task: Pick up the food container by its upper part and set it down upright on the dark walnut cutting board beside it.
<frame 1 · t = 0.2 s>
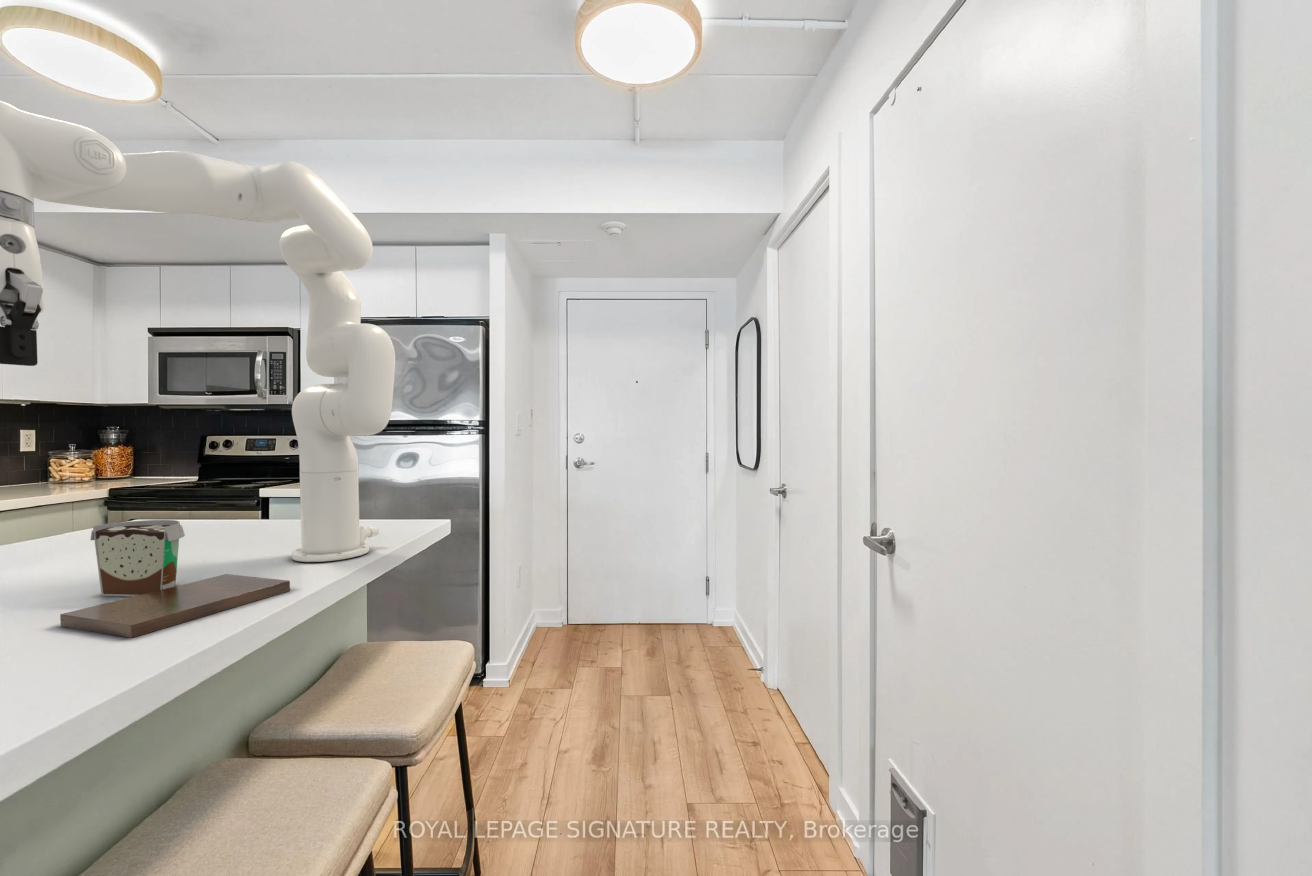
food container: (151, 591, 87), on the countertop
cutting board: (186, 606, 79), on the countertop
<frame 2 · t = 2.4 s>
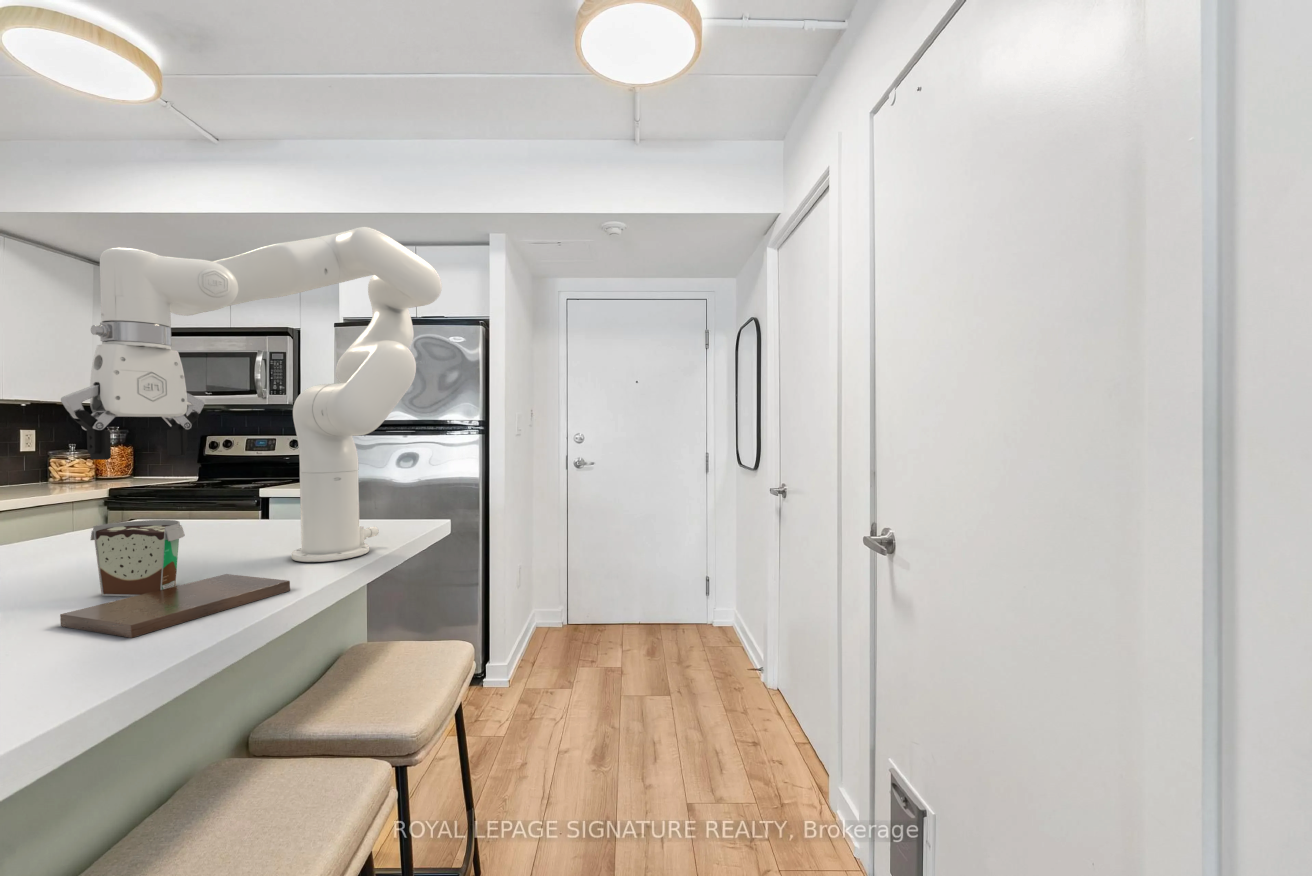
hand: (140, 457, 86), 20 cm above the countertop, tool pointing down, fingers open, 9 cm apart
nothing on the countertop moved.
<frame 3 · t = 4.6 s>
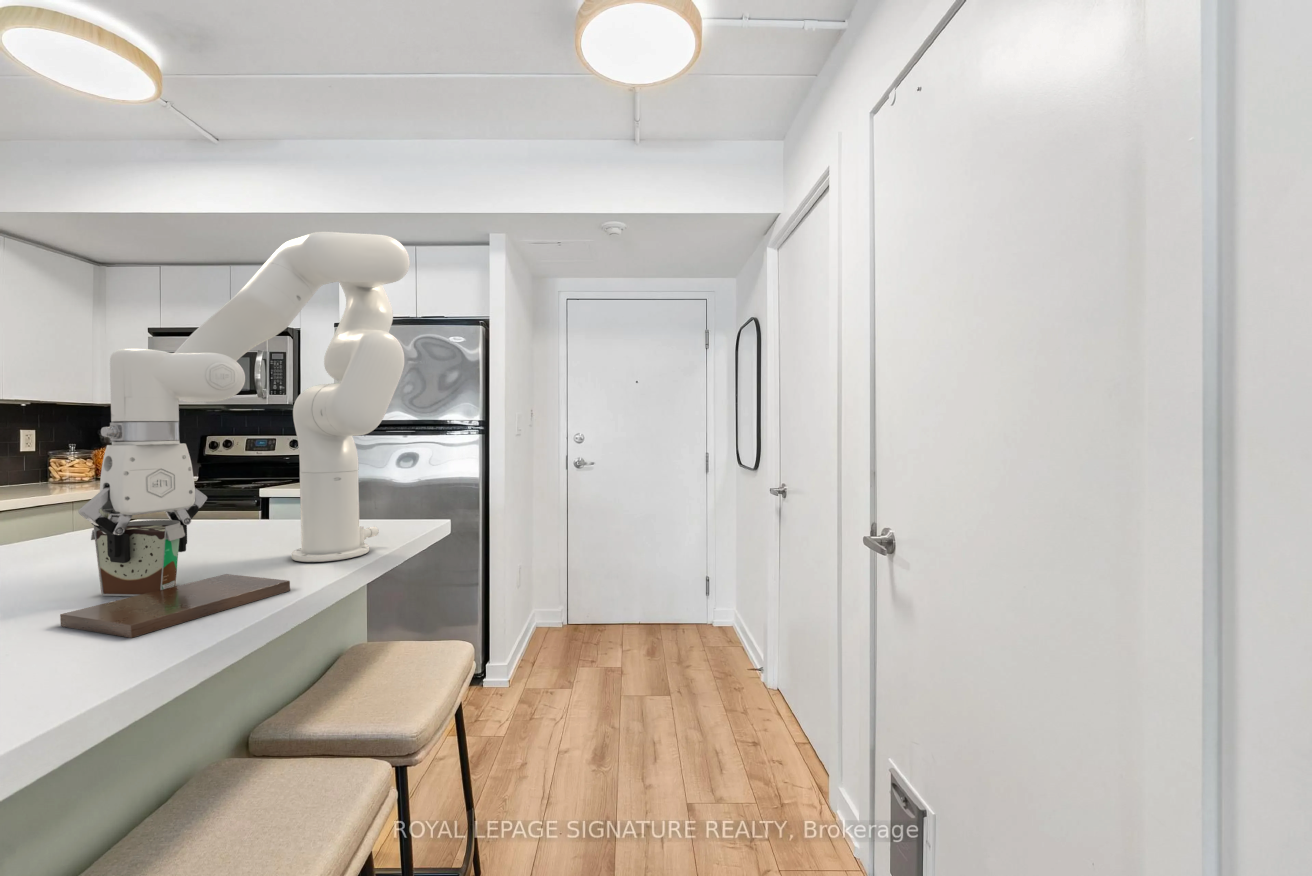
hand: (149, 555, 87), 5 cm above the countertop, tool pointing down, fingers closed on food container, 6 cm apart
food container: (151, 591, 87), on the countertop, touching gripper
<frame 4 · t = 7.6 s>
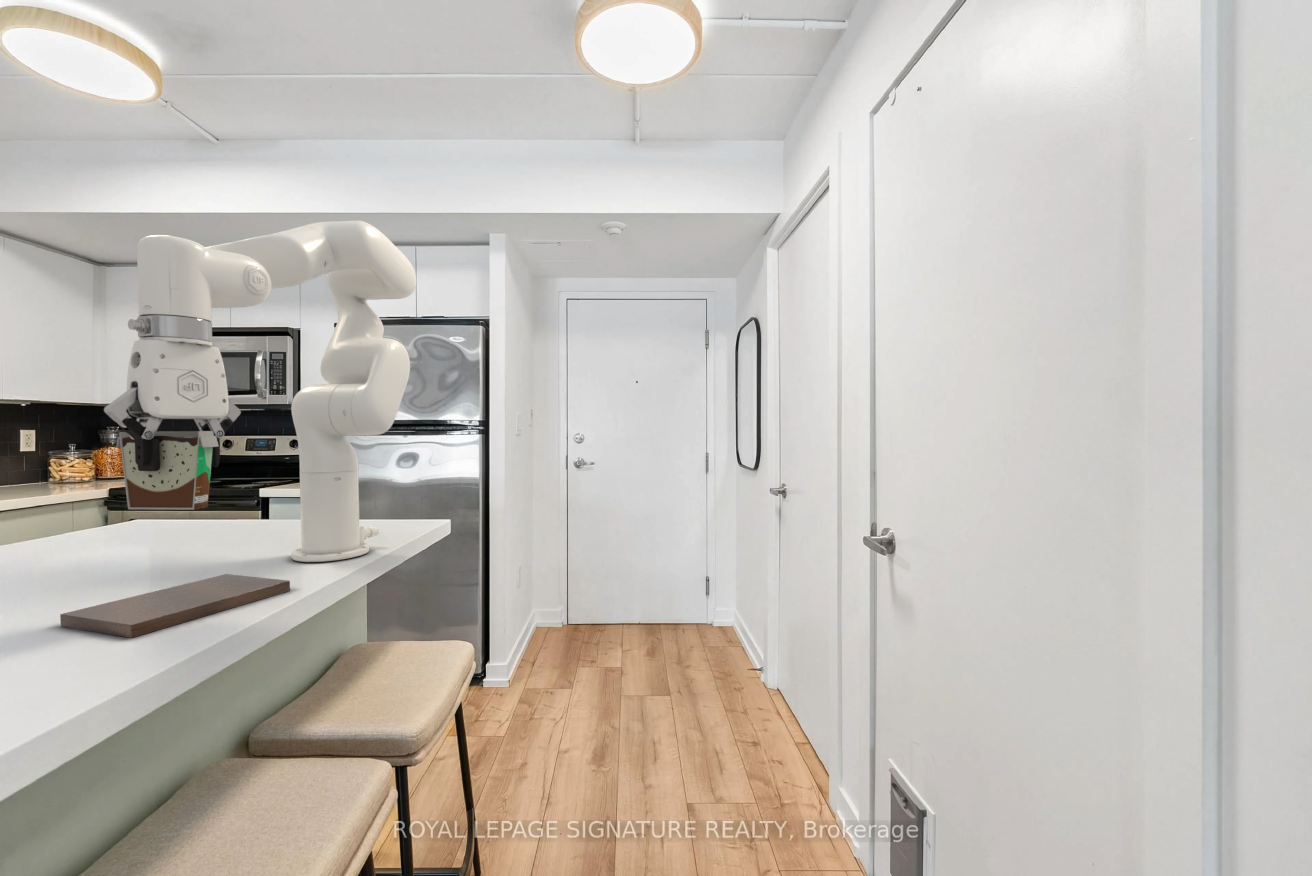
hand: (180, 467, 79), 19 cm above the countertop, tool pointing down, fingers closed on food container, 6 cm apart
food container: (182, 507, 79), point 13 cm above the countertop, touching gripper
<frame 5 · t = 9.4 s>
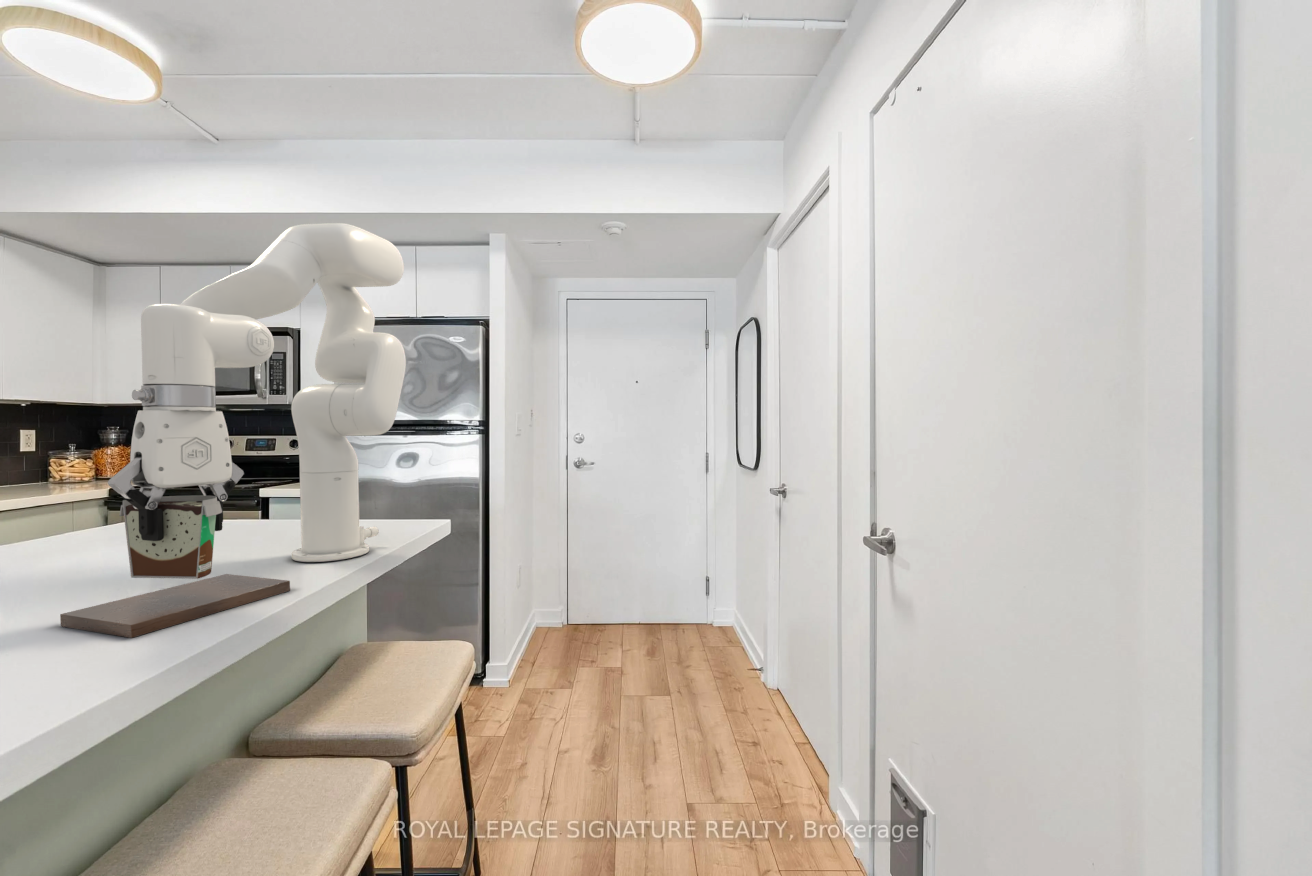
hand: (183, 533, 79), 10 cm above the countertop, tool pointing down, fingers closed on food container, 6 cm apart
food container: (185, 573, 79), point 4 cm above the countertop, touching gripper
when the fingers open (7 cm above the countertop, at t = 10.8 s): food container stays where it is, resting on cutting board.
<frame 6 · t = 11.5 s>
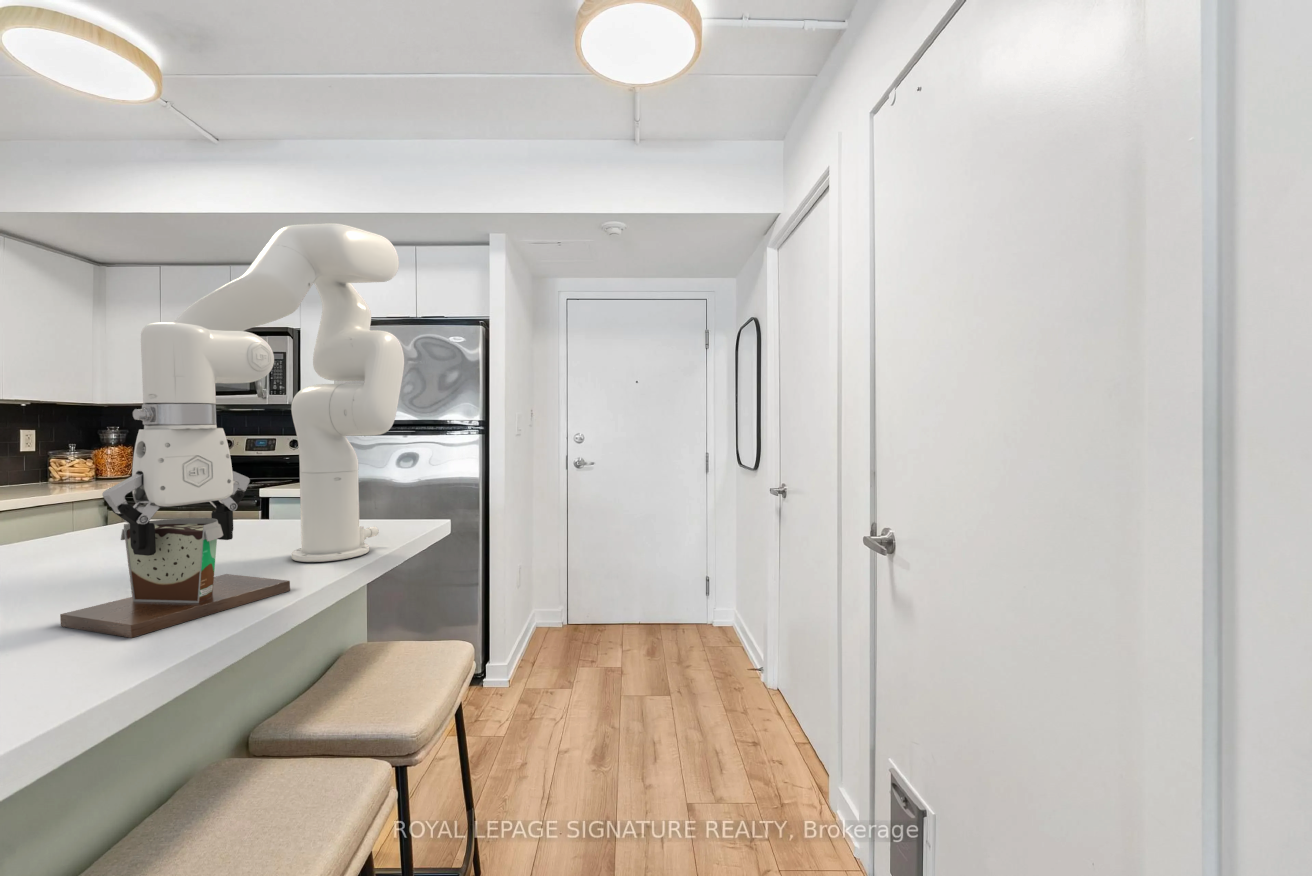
hand: (185, 546, 79), 8 cm above the countertop, tool pointing down, fingers open, 9 cm apart
food container: (186, 596, 79), point 1 cm above the countertop, touching cutting board
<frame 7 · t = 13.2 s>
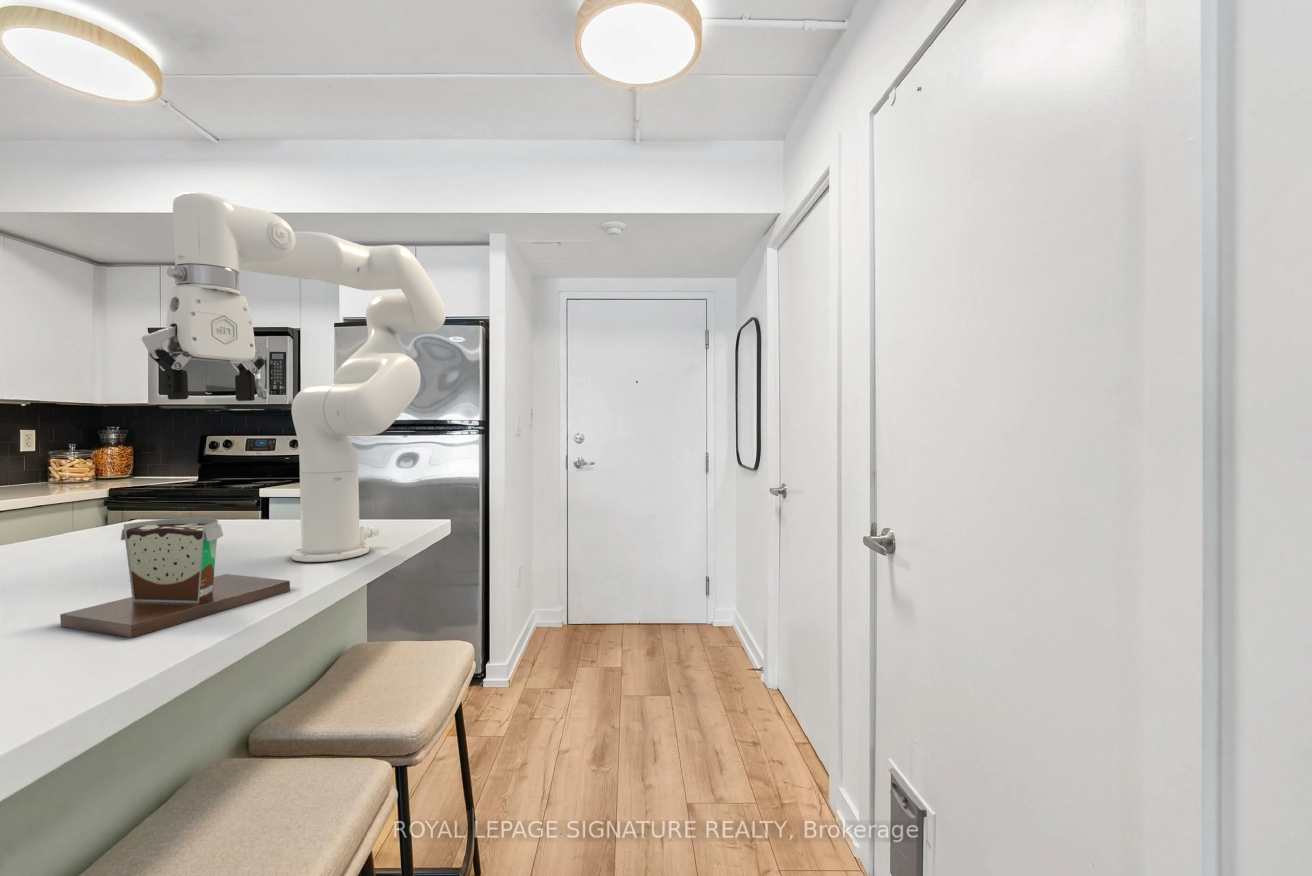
hand: (213, 400, 88), 28 cm above the countertop, tool pointing down, fingers open, 9 cm apart
nothing on the countertop moved.
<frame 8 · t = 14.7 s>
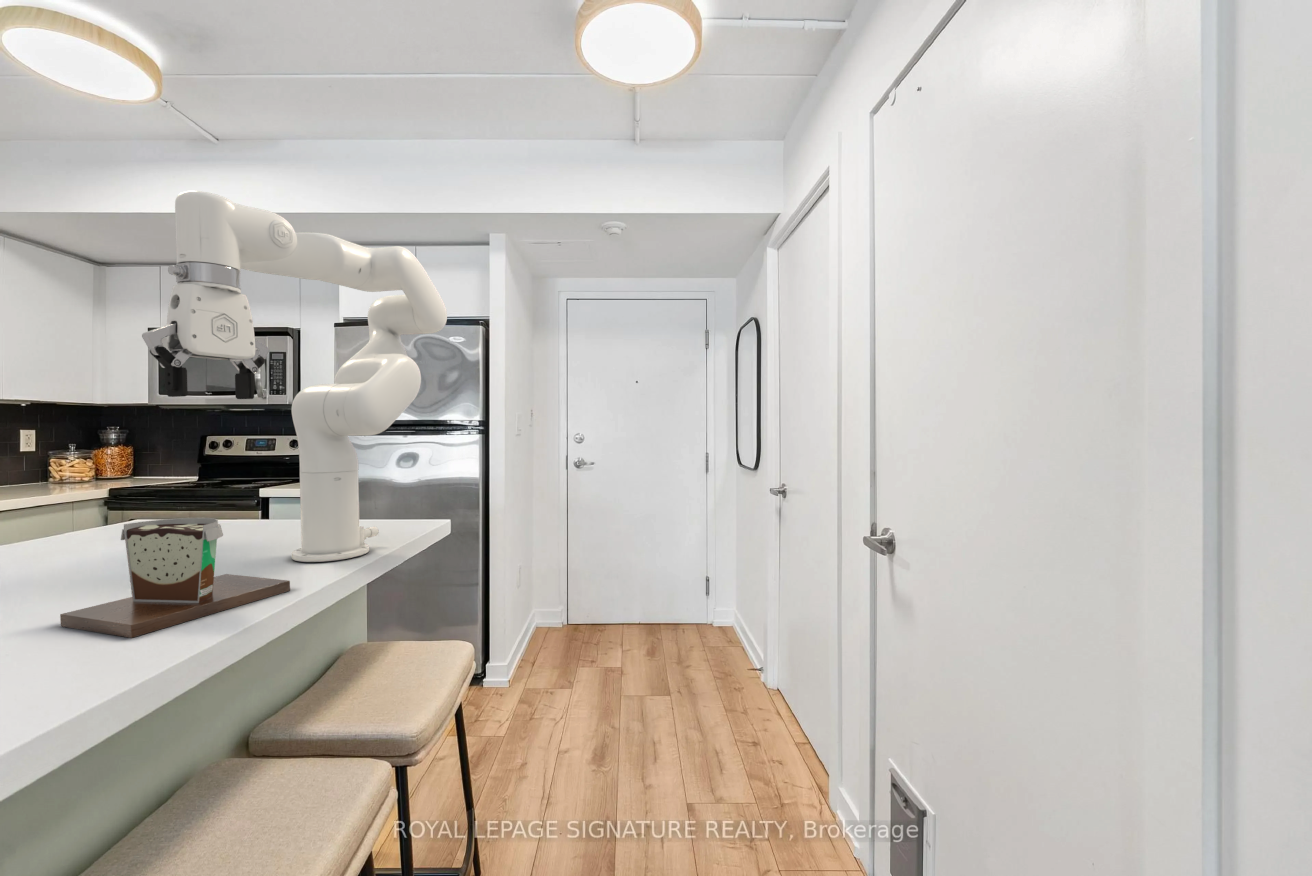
hand: (212, 397, 88), 28 cm above the countertop, tool pointing down, fingers open, 9 cm apart
nothing on the countertop moved.
at the end: food container inside the target area on the cutting board (0.1 cm from its centre), point 1.3 cm above the cutting board's base; food container tilted 0°; the gripper is holding nothing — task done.
